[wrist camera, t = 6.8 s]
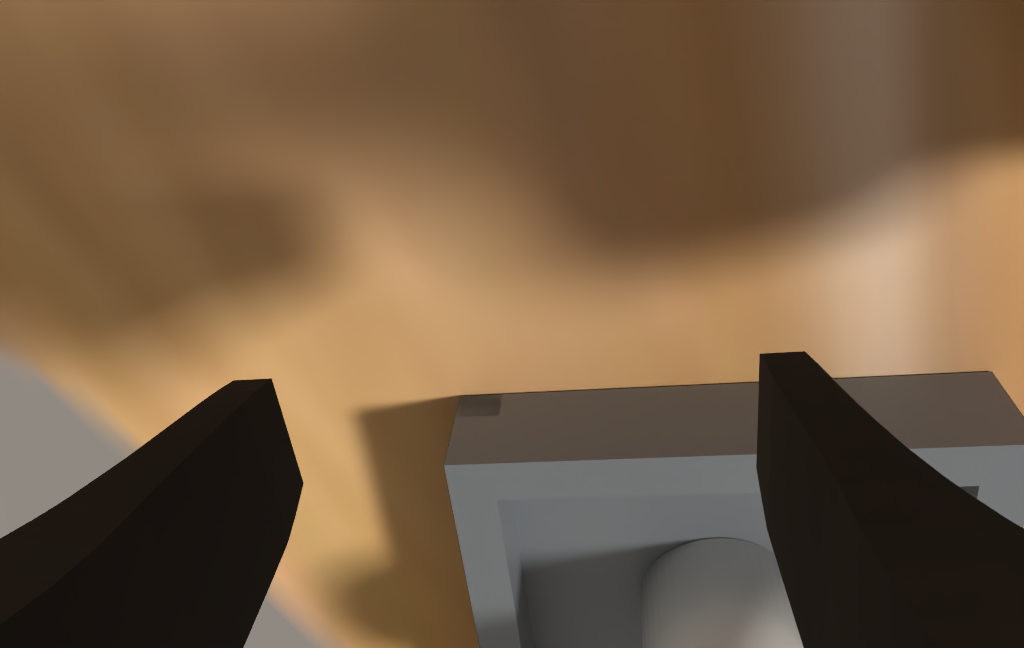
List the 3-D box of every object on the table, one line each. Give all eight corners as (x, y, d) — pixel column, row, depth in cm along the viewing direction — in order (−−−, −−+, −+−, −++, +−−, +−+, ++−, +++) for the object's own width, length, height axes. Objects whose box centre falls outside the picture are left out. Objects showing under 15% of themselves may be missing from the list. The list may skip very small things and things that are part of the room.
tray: (991, 371, 22) (1043, 444, 20) (925, 716, 29) (957, 803, 27) (460, 396, 24) (443, 465, 22) (516, 715, 31) (508, 796, 29)
